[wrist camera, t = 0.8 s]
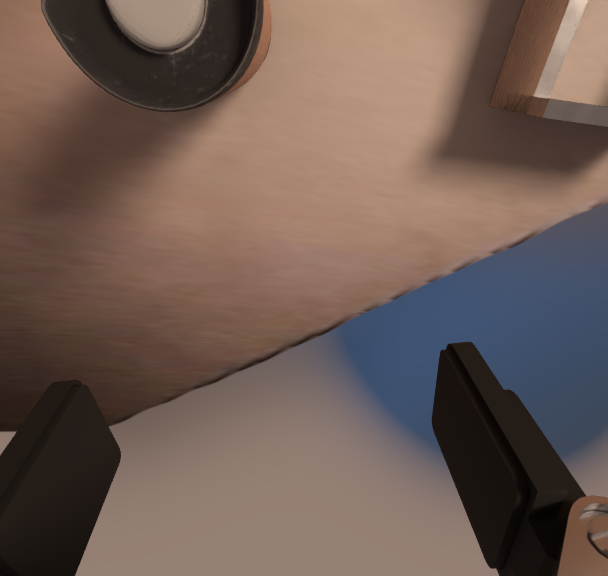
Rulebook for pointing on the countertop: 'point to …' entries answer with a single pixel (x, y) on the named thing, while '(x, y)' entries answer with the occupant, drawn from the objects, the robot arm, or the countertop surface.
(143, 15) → the travel mug
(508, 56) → the bracket
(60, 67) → the countertop surface
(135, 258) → the countertop surface
